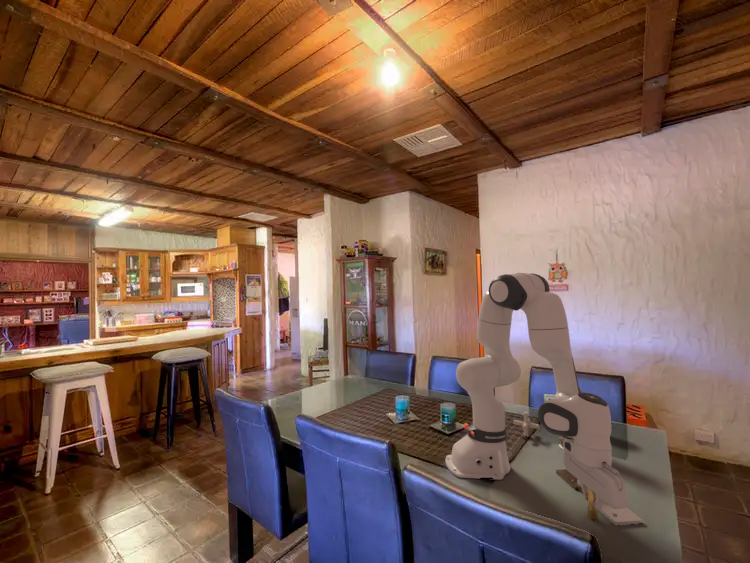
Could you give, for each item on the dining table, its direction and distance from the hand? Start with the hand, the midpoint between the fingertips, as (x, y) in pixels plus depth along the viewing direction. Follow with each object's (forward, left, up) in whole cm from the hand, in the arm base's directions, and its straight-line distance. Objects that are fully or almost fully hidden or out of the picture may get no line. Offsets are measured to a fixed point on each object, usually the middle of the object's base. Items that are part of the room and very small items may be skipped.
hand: (592, 503), depth 96 cm
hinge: (+8, +10, -4) cm, 13 cm away
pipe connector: (+9, +52, -4) cm, 53 cm away
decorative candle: (+21, +40, -4) cm, 45 cm away
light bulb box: (+34, +69, -4) cm, 77 cm away
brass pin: (0, 0, -4) cm, 4 cm away
